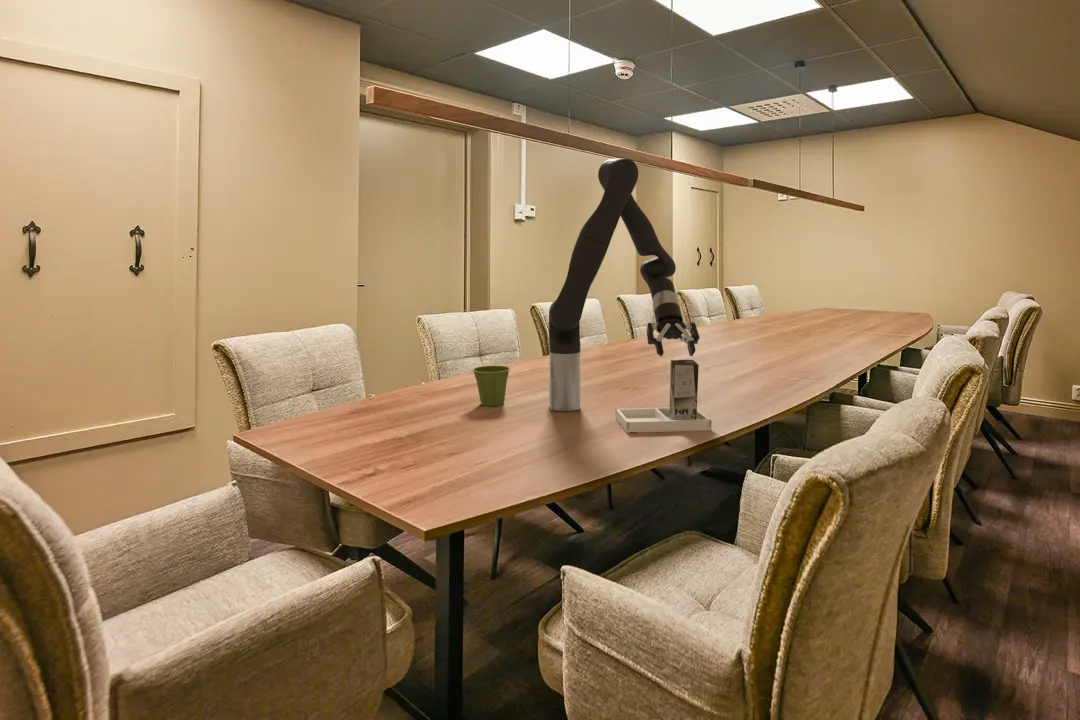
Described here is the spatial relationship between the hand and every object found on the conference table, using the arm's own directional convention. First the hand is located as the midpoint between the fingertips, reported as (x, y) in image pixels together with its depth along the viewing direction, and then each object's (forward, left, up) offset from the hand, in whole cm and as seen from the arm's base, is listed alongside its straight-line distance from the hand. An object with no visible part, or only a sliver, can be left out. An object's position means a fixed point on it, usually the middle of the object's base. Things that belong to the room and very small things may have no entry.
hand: (676, 354), depth 170 cm
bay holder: (-5, -5, -18) cm, 20 cm away
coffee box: (+1, -5, -18) cm, 18 cm away
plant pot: (-51, +24, -18) cm, 59 cm away
